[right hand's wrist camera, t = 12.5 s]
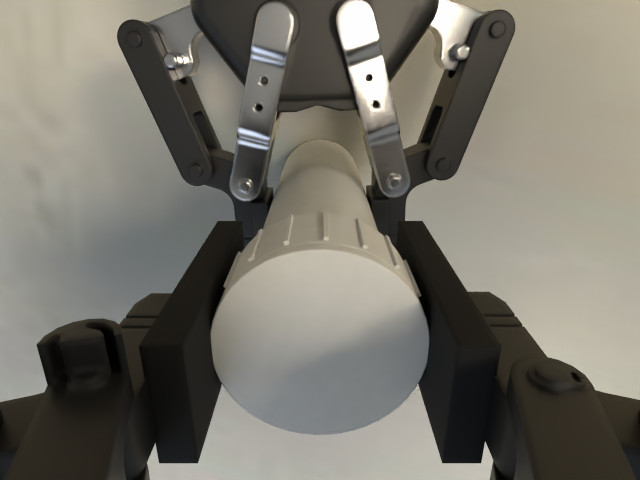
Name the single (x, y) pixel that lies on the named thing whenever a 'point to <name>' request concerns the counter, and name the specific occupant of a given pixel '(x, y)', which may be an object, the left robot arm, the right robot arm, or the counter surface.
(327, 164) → the white long cylinder
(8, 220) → the counter surface
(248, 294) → the lid
